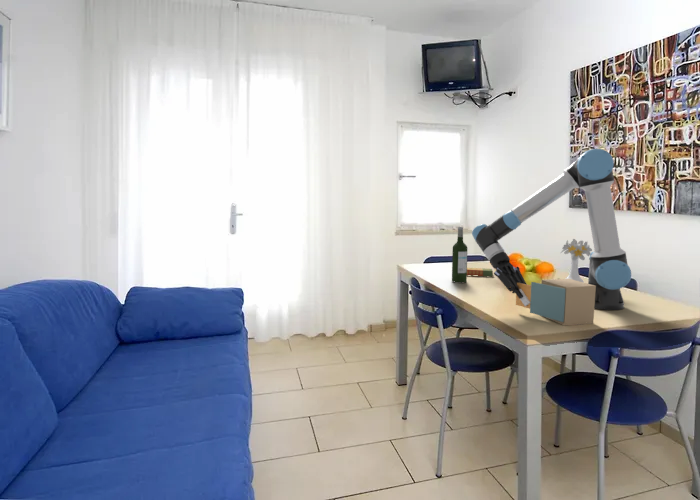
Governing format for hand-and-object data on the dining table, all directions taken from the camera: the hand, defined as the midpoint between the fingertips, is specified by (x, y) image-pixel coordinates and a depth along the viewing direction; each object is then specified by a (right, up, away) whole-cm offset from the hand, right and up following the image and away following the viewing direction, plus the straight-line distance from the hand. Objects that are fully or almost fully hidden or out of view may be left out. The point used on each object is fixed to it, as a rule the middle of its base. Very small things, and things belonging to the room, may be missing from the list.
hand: (529, 304), depth 165 cm
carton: (+6, +6, +86) cm, 86 cm away
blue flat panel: (+2, -3, -3) cm, 5 cm away
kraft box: (+12, -5, -4) cm, 14 cm away
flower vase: (+41, +1, +44) cm, 60 cm away
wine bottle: (-10, +4, +67) cm, 68 cm away
